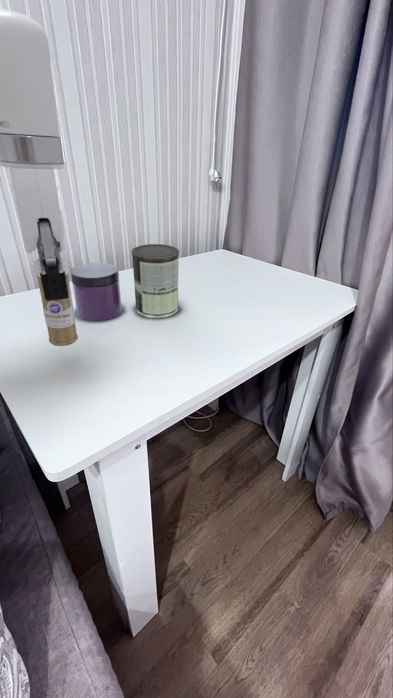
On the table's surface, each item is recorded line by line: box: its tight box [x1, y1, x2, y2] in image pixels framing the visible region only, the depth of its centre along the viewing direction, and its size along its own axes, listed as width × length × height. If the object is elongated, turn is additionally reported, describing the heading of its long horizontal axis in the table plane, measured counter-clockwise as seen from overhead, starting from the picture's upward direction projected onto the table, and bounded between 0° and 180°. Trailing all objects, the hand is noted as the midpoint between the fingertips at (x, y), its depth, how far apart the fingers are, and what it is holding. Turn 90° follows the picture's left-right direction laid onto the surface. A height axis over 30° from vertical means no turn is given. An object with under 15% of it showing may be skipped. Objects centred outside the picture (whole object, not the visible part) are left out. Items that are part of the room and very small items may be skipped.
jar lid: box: [69, 261, 120, 287], centre depth 72 cm, size 10×10×2 cm
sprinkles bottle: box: [33, 257, 79, 347], centre depth 51 cm, size 5×5×14 cm
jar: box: [71, 277, 123, 322], centre depth 75 cm, size 10×10×10 cm
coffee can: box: [131, 243, 180, 319], centre depth 76 cm, size 10×10×14 cm
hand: (55, 290), depth 50 cm, fingers closed on sprinkles bottle, 4 cm apart
